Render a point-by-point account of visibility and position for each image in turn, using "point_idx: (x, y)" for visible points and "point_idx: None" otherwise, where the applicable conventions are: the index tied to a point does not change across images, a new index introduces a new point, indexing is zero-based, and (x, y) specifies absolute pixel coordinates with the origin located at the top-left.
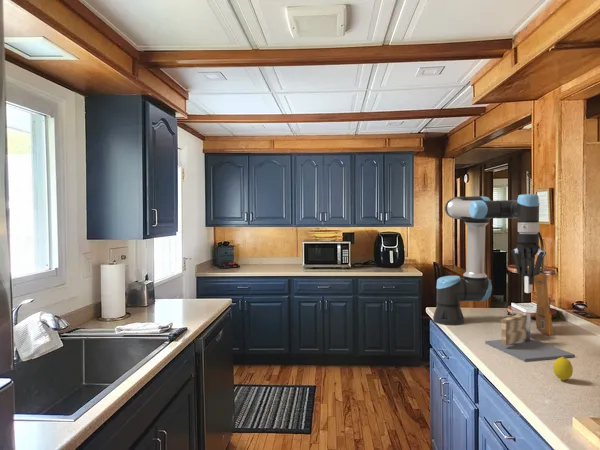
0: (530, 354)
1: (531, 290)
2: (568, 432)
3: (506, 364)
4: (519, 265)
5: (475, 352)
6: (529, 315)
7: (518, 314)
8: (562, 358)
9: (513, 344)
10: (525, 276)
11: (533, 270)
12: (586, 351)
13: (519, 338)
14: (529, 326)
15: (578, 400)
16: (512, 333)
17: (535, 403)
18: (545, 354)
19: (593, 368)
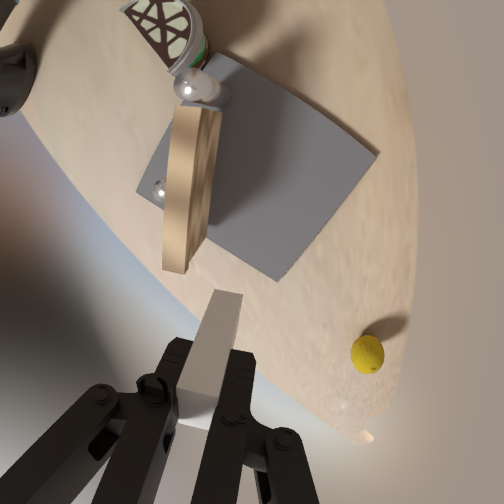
0: (277, 237)
1: (240, 306)
2: (363, 436)
3: (251, 319)
4: (85, 474)
5: (163, 282)
6: (208, 90)
7: (141, 4)
8: (370, 372)
9: None
10: (187, 424)
11: (239, 474)
12: (386, 76)
13: (214, 157)
14: (220, 95)
15: (380, 385)
16: (202, 208)
17: (331, 415)
18: (311, 210)
19: (416, 227)
